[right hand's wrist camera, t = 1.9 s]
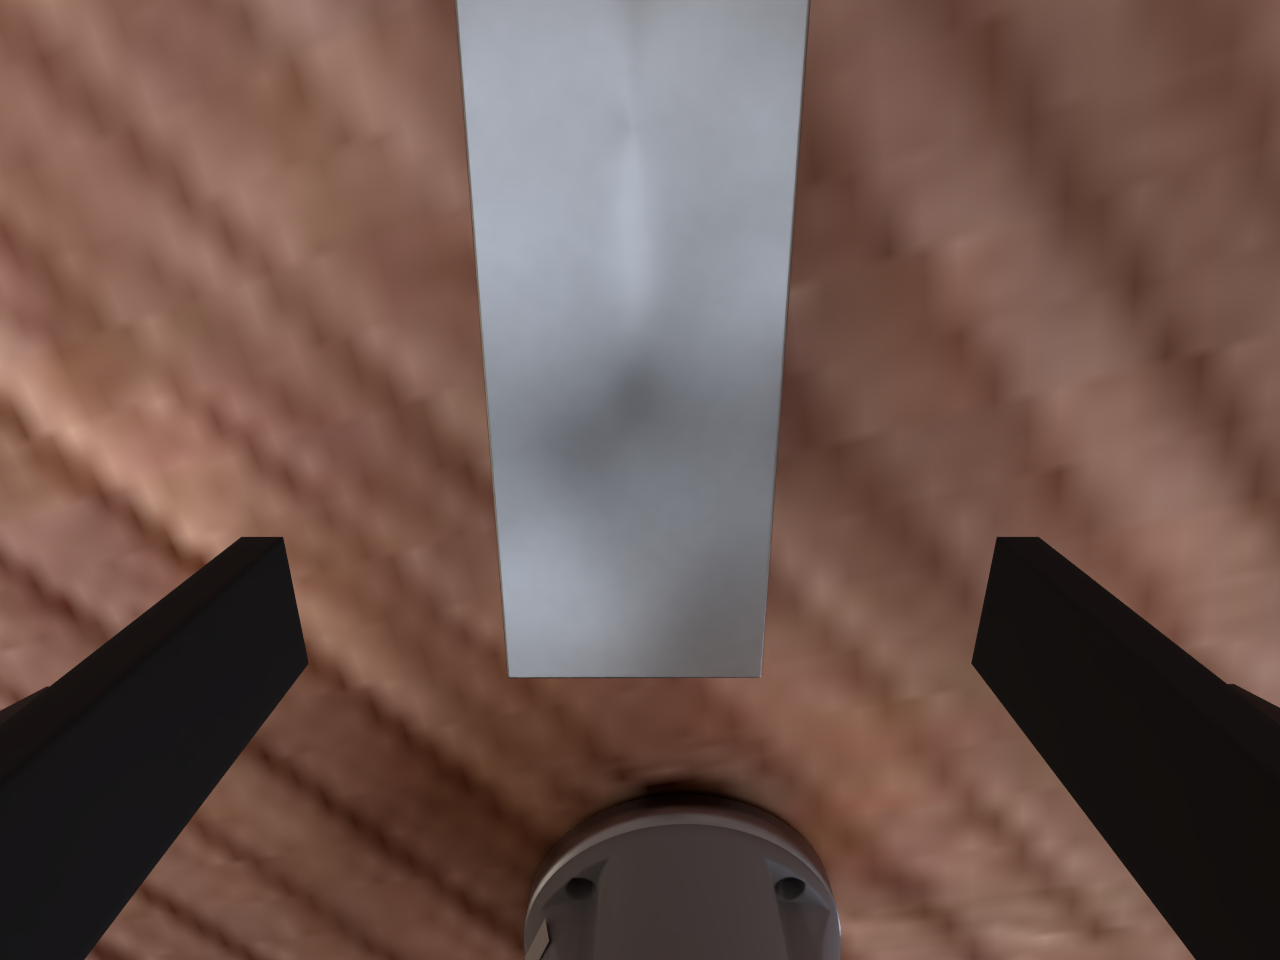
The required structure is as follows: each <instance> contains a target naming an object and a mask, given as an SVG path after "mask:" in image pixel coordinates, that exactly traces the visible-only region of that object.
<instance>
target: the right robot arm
mask: <svg viewBox="0 0 1280 960" xmlns="http://www.w3.org/2000/svg"><path fill="white" fill-rule="evenodd" d="M308 664H309V663H308V658H307V653H306V648H305V643H304V639H303V634H302V629H301V624H300V619H299V614H298V609H297V604H296V599H295V594H294V589H293V584H292V579H291V574H290V569H289V564H288V559H287V554H286V549H285V544H284V539H283V537H241V538H240V539H238V540H237V541H236V542H234V543H233V544H232V545H231V546H229V547H228V548H227V549H225V550H224V551H223V552H222V553H220V554H219V555H218V556H216V557H215V558H214V559H213V560H211V561H210V562H209V563H208V564H206V565H205V566H204V567H202V568H201V569H200V570H199V571H197V572H196V573H195V574H193V575H192V576H191V577H190V578H188V579H187V580H186V581H184V582H183V583H182V584H181V585H179V586H178V587H177V588H176V589H174V590H173V591H172V592H170V593H169V594H168V595H167V596H165V597H164V598H163V599H161V600H160V601H159V602H158V603H156V604H155V605H154V606H152V607H151V608H150V609H149V610H147V611H146V612H145V613H143V614H142V615H141V616H140V617H138V618H137V619H136V620H135V621H133V622H132V623H131V624H129V625H128V626H127V627H126V628H124V629H123V630H122V631H120V632H119V633H118V634H117V635H115V636H114V637H113V638H111V639H110V640H109V641H108V642H106V643H105V644H104V645H102V646H101V647H100V648H99V649H97V650H96V651H95V652H94V653H92V654H91V655H90V656H88V657H87V658H86V659H85V660H83V661H82V662H81V663H79V664H78V665H77V666H76V667H74V668H73V669H72V670H70V671H69V672H68V673H67V674H65V675H64V676H63V677H61V678H60V679H59V680H58V681H56V682H55V683H54V684H53V685H51V686H50V687H45V688H43V689H41V690H39V691H37V692H36V693H34V694H32V695H30V696H28V697H26V698H24V699H22V700H20V701H18V702H16V703H14V704H13V705H11V706H9V707H7V708H5V709H3V710H1V711H0V960H84V959H85V958H86V957H87V955H88V954H89V953H90V951H91V950H92V949H93V947H94V946H95V945H96V943H97V942H98V941H99V939H100V938H101V937H102V935H103V934H104V933H105V931H106V930H107V929H108V928H109V926H110V925H111V924H112V922H113V921H114V920H115V918H116V917H117V916H118V914H119V913H120V912H121V910H122V909H123V908H124V906H125V905H126V904H127V902H128V901H129V900H130V898H131V897H132V896H133V895H134V893H135V892H136V891H137V889H138V888H139V887H140V885H141V884H142V883H143V881H144V880H145V879H146V877H147V876H148V875H149V873H150V872H151V871H152V869H153V868H154V867H155V865H156V864H157V863H158V862H159V860H160V859H161V858H162V856H163V855H164V854H165V852H166V851H167V850H168V848H169V847H170V846H171V844H172V843H173V842H174V840H175V839H176V838H177V836H178V835H179V834H180V832H181V831H182V830H183V829H184V827H185V826H186V825H187V823H188V822H189V821H190V819H191V818H192V817H193V815H194V814H195V813H196V811H197V810H198V809H199V807H200V806H201V805H202V803H203V802H204V801H205V799H206V798H207V797H208V796H209V794H210V793H211V792H212V790H213V789H214V788H215V786H216V785H217V784H218V782H219V781H220V780H221V778H222V777H223V776H224V774H225V773H226V772H227V770H228V769H229V768H230V766H231V765H232V764H233V763H234V761H235V760H236V759H237V757H238V756H239V755H240V753H241V752H242V751H243V749H244V748H245V747H246V745H247V744H248V743H249V741H250V740H251V739H252V737H253V736H254V735H255V733H256V732H257V731H258V730H259V728H260V727H261V726H262V724H263V723H264V722H265V720H266V719H267V718H268V716H269V715H270V714H271V712H272V711H273V710H274V708H275V707H276V706H277V704H278V703H279V702H280V700H281V699H282V698H283V697H284V695H285V694H286V693H287V691H288V690H289V689H290V687H291V686H292V685H293V683H294V682H295V681H296V679H297V678H298V677H299V675H300V674H301V673H302V671H303V670H304V669H305V667H306V666H307V665H308ZM971 664H972V665H973V666H974V667H975V669H976V670H977V671H978V673H979V674H980V675H981V677H982V678H983V679H984V681H985V682H986V683H987V685H988V686H989V687H990V689H991V690H992V691H993V693H994V694H995V695H996V697H997V698H998V699H999V700H1000V702H1001V703H1002V704H1003V706H1004V707H1005V708H1006V710H1007V711H1008V712H1009V714H1010V715H1011V716H1012V718H1013V719H1014V720H1015V722H1016V723H1017V724H1018V726H1019V727H1020V728H1021V730H1022V731H1023V732H1024V733H1025V735H1026V736H1027V737H1028V739H1029V740H1030V741H1031V743H1032V744H1033V745H1034V747H1035V748H1036V749H1037V751H1038V752H1039V753H1040V755H1041V756H1042V757H1043V759H1044V760H1045V761H1046V763H1047V764H1048V765H1049V766H1050V768H1051V769H1052V770H1053V772H1054V773H1055V774H1056V776H1057V777H1058V778H1059V780H1060V781H1061V782H1062V784H1063V785H1064V786H1065V788H1066V789H1067V790H1068V792H1069V793H1070V794H1071V796H1072V797H1073V798H1074V799H1075V801H1076V802H1077V803H1078V805H1079V806H1080V807H1081V809H1082V810H1083V811H1084V813H1085V814H1086V815H1087V817H1088V818H1089V819H1090V821H1091V822H1092V823H1093V825H1094V826H1095V827H1096V829H1097V830H1098V831H1099V832H1100V834H1101V835H1102V836H1103V838H1104V839H1105V840H1106V842H1107V843H1108V844H1109V846H1110V847H1111V848H1112V850H1113V851H1114V852H1115V854H1116V855H1117V856H1118V858H1119V859H1120V860H1121V862H1122V863H1123V864H1124V865H1125V867H1126V868H1127V869H1128V871H1129V872H1130V873H1131V875H1132V876H1133V877H1134V879H1135V880H1136V881H1137V883H1138V884H1139V885H1140V887H1141V888H1142V889H1143V891H1144V892H1145V893H1146V895H1147V896H1148V897H1149V898H1150V900H1151V901H1152V902H1153V904H1154V905H1155V906H1156V908H1157V909H1158V910H1159V912H1160V913H1161V914H1162V916H1163V917H1164V918H1165V920H1166V921H1167V922H1168V924H1169V925H1170V926H1171V928H1172V929H1173V930H1174V931H1175V933H1176V934H1177V935H1178V937H1179V938H1180V939H1181V941H1182V942H1183V943H1184V945H1185V946H1186V947H1187V949H1188V950H1189V951H1190V953H1191V954H1192V955H1193V957H1194V958H1195V959H1196V960H1280V708H1279V707H1277V706H1275V705H1273V704H1271V703H1269V702H1267V701H1266V700H1264V699H1262V698H1260V697H1258V696H1256V695H1254V694H1252V693H1250V692H1248V691H1246V690H1244V689H1242V688H1240V687H1239V686H1237V685H1235V684H1226V683H1225V682H1224V681H1222V680H1221V679H1220V678H1218V677H1217V676H1216V675H1215V674H1213V673H1212V672H1211V671H1210V670H1208V669H1207V668H1206V667H1204V666H1203V665H1202V664H1201V663H1199V662H1198V661H1197V660H1195V659H1194V658H1193V657H1192V656H1190V655H1189V654H1188V653H1186V652H1185V651H1184V650H1183V649H1181V648H1180V647H1179V646H1178V645H1176V644H1175V643H1174V642H1172V641H1171V640H1170V639H1169V638H1167V637H1166V636H1165V635H1163V634H1162V633H1161V632H1160V631H1158V630H1157V629H1156V628H1154V627H1153V626H1152V625H1151V624H1149V623H1148V622H1147V621H1145V620H1144V619H1143V618H1142V617H1140V616H1139V615H1138V614H1137V613H1135V612H1134V611H1133V610H1131V609H1130V608H1129V607H1128V606H1126V605H1125V604H1124V603H1122V602H1121V601H1120V600H1119V599H1117V598H1116V597H1115V596H1113V595H1112V594H1111V593H1110V592H1108V591H1107V590H1106V589H1104V588H1103V587H1102V586H1101V585H1099V584H1098V583H1097V582H1096V581H1094V580H1093V579H1092V578H1090V577H1089V576H1088V575H1087V574H1085V573H1084V572H1083V571H1081V570H1080V569H1079V568H1078V567H1076V566H1075V565H1074V564H1072V563H1071V562H1070V561H1069V560H1067V559H1066V558H1065V557H1064V556H1062V555H1061V554H1060V553H1058V552H1057V551H1056V550H1055V549H1053V548H1052V547H1051V546H1049V545H1048V544H1047V543H1046V542H1044V541H1043V540H1042V539H1040V538H1039V537H997V539H996V544H995V549H994V554H993V559H992V564H991V569H990V574H989V579H988V584H987V589H986V594H985V599H984V604H983V609H982V614H981V619H980V624H979V629H978V634H977V638H976V643H975V648H974V653H973V658H972V663H971ZM840 934H841V930H840V919H839V915H838V910H837V907H836V903H835V900H834V896H833V893H832V890H831V886H830V883H829V880H828V877H827V874H826V871H825V869H824V867H823V865H822V863H821V861H820V859H819V857H818V856H817V854H816V853H815V851H814V850H813V848H812V847H811V846H810V845H809V844H808V843H807V842H806V840H805V839H804V838H803V837H802V836H800V835H799V834H798V833H797V832H796V831H795V830H794V829H792V828H791V827H790V826H788V825H787V824H786V823H784V822H783V821H781V820H779V819H778V818H776V817H774V816H773V815H771V814H768V813H766V812H764V811H762V810H760V809H758V808H755V807H752V806H750V805H747V804H744V803H741V802H737V801H734V800H730V799H725V798H719V797H714V796H705V795H690V794H678V795H663V796H654V797H648V798H643V799H638V800H634V801H630V802H627V803H623V804H620V805H617V806H615V807H612V808H609V809H607V810H604V811H602V812H600V813H598V814H596V815H594V816H592V817H590V818H589V819H587V820H585V821H583V822H582V823H580V824H579V825H577V826H576V827H575V828H573V829H572V830H570V831H569V832H568V833H567V834H566V835H565V836H563V837H562V838H561V839H560V840H559V841H558V842H557V843H556V844H555V845H554V846H553V848H552V849H551V850H550V851H549V852H548V854H547V855H546V857H545V858H544V859H543V861H542V863H541V864H540V866H539V868H538V870H537V872H536V875H535V877H534V879H533V883H532V886H531V890H530V895H529V901H528V908H527V914H526V920H525V927H524V949H525V960H840V952H841V937H840Z"/></svg>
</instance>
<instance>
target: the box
mask: <svg viewBox="0 0 1280 960" xmlns="http://www.w3.org/2000/svg"><path fill="white" fill-rule="evenodd" d="M810 1H811V0H454V2H455V15H456V28H457V40H458V53H459V66H460V79H461V91H462V104H463V117H464V130H465V142H466V155H467V168H468V181H469V193H470V206H471V219H472V232H473V244H474V257H475V270H476V282H477V295H478V308H479V321H480V333H481V346H482V359H483V372H484V384H485V397H486V410H487V423H488V435H489V448H490V461H491V474H492V486H493V499H494V512H495V525H496V537H497V550H498V563H499V576H500V588H501V601H502V614H503V627H504V639H505V652H506V665H507V676H508V678H759V677H761V675H762V663H763V649H764V636H765V622H766V608H767V594H768V580H769V567H770V553H771V539H772V525H773V511H774V498H775V484H776V470H777V456H778V442H779V429H780V415H781V401H782V387H783V373H784V360H785V346H786V332H787V318H788V304H789V291H790V277H791V263H792V249H793V235H794V222H795V208H796V194H797V180H798V167H799V153H800V139H801V125H802V111H803V98H804V84H805V70H806V56H807V42H808V29H809V15H810Z"/></svg>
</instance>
